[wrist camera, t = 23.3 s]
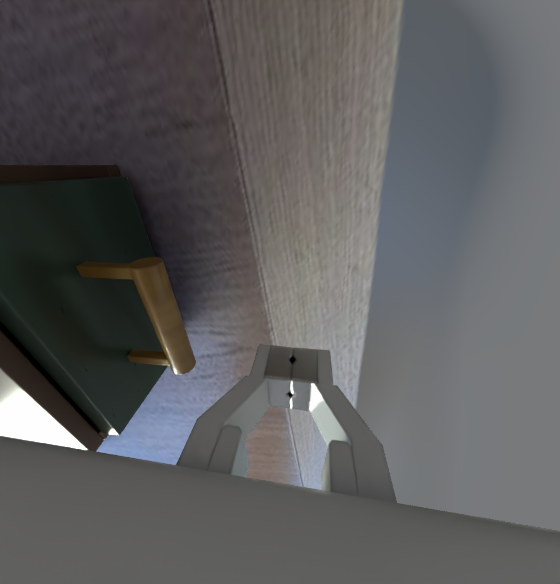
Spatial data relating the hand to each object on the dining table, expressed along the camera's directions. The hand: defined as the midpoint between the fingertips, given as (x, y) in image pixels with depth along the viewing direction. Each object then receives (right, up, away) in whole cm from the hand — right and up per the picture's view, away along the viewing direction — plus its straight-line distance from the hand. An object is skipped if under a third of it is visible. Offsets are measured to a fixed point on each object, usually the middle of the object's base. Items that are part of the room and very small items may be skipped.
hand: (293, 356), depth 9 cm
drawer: (-15, +4, +7) cm, 17 cm away
